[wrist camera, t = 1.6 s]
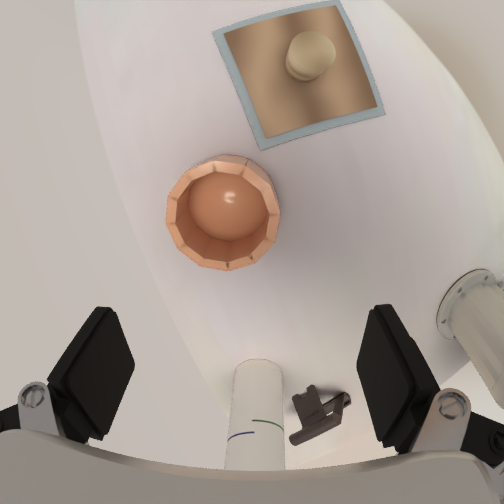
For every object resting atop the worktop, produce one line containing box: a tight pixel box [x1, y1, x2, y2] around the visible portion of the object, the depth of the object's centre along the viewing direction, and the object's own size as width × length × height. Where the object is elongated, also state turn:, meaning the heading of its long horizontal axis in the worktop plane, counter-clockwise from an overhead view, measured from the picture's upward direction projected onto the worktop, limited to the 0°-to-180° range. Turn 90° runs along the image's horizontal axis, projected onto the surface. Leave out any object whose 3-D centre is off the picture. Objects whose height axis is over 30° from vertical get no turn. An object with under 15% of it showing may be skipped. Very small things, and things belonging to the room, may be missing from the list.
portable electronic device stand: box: [289, 385, 351, 446], centre depth 41 cm, size 9×8×8 cm
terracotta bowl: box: [166, 155, 280, 271], centre depth 28 cm, size 10×10×6 cm
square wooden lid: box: [223, 5, 378, 138], centre depth 21 cm, size 12×12×7 cm
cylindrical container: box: [224, 359, 285, 471], centre depth 30 cm, size 7×7×25 cm
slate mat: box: [212, 0, 385, 150], centre depth 24 cm, size 14×14×1 cm
